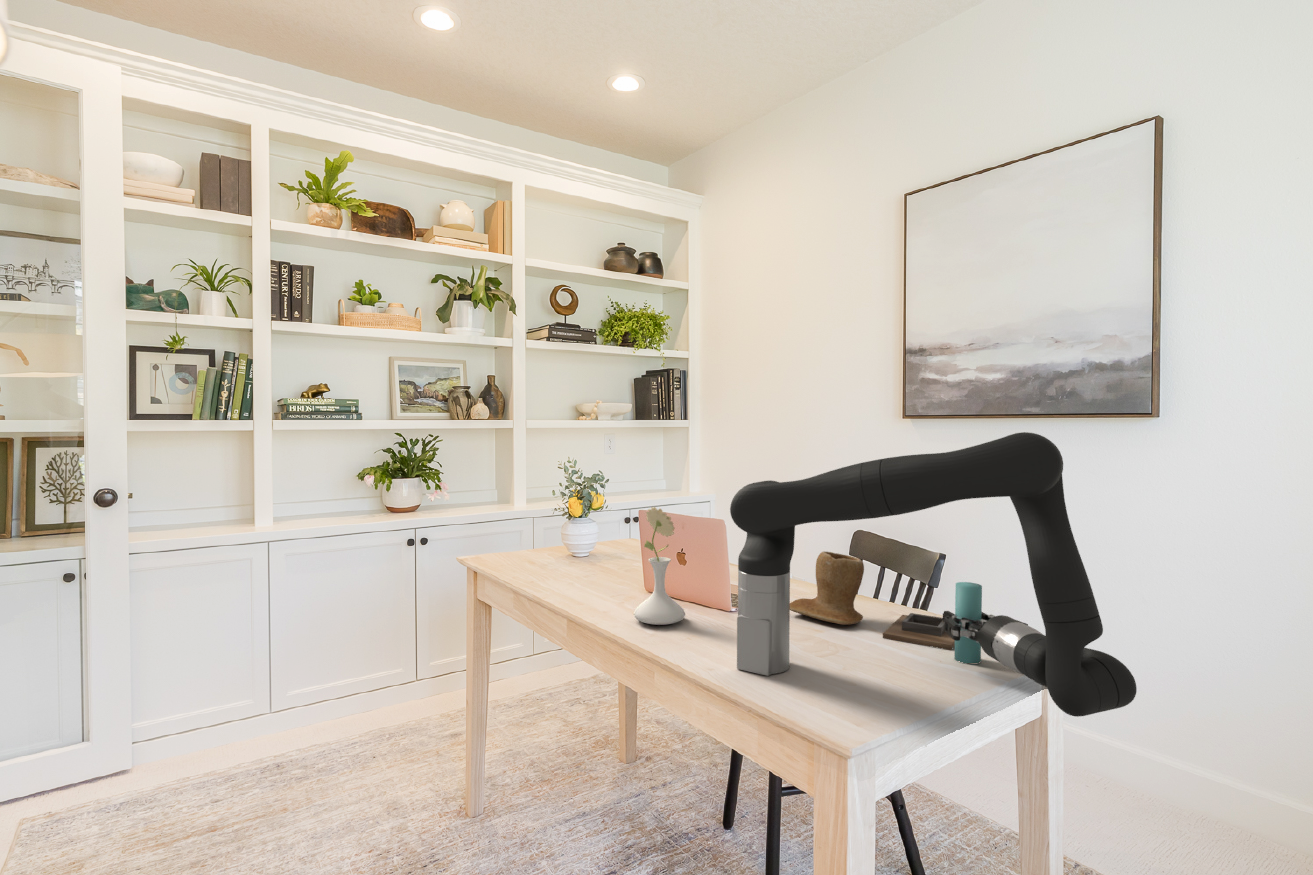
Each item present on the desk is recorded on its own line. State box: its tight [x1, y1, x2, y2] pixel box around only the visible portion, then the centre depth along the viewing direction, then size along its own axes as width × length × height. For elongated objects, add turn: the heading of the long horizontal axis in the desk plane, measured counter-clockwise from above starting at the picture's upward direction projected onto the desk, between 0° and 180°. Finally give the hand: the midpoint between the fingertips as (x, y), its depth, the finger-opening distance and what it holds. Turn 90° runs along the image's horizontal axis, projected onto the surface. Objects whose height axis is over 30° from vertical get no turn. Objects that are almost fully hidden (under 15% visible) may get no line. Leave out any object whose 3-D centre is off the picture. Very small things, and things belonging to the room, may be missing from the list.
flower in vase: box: [633, 506, 686, 626], centre depth 147 cm, size 13×11×25 cm
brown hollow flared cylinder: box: [790, 551, 865, 625], centre depth 149 cm, size 15×12×15 cm
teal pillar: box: [954, 581, 983, 664], centre depth 123 cm, size 4×4×14 cm
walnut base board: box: [882, 612, 955, 651], centre depth 138 cm, size 16×13×3 cm
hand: (960, 615), depth 125 cm, fingers open, 5 cm apart
